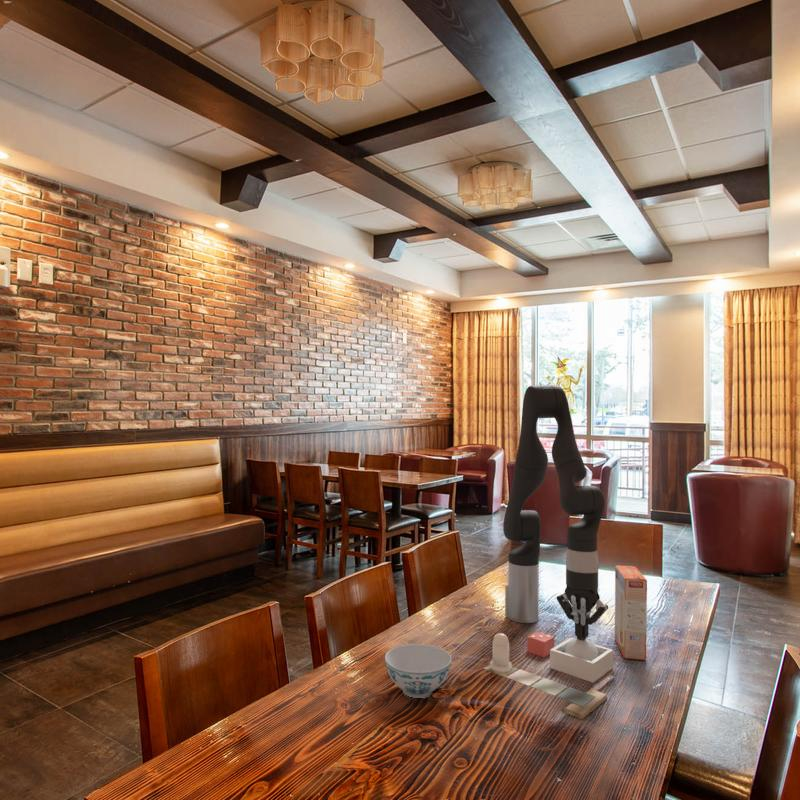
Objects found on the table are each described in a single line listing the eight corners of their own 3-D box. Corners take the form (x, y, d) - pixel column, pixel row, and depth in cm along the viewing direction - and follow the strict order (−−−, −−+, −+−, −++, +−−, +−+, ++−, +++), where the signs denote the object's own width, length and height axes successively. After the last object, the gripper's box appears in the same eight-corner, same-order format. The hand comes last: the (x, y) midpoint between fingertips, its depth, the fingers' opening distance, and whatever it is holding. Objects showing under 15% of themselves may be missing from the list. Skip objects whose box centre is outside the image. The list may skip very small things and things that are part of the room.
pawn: (485, 668, 139) (485, 633, 139) (497, 662, 142) (498, 627, 143) (503, 675, 135) (504, 639, 135) (515, 668, 139) (516, 633, 139)
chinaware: (460, 684, 133) (460, 651, 133) (436, 715, 119) (437, 677, 119) (401, 671, 139) (401, 639, 139) (372, 699, 126) (373, 663, 126)
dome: (558, 671, 140) (558, 638, 140) (573, 661, 145) (574, 629, 146) (589, 682, 134) (590, 648, 134) (604, 671, 140) (604, 638, 140)
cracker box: (647, 661, 147) (648, 579, 147) (623, 659, 148) (623, 577, 148) (636, 640, 160) (636, 565, 161) (614, 638, 162) (614, 564, 162)
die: (527, 656, 149) (527, 636, 149) (537, 650, 153) (537, 631, 153) (544, 661, 146) (544, 641, 146) (554, 656, 149) (554, 636, 149)
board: (471, 675, 137) (471, 670, 137) (499, 660, 146) (499, 655, 146) (582, 719, 118) (581, 713, 118) (606, 699, 127) (606, 693, 127)
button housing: (549, 672, 140) (550, 649, 140) (571, 659, 148) (571, 637, 148) (593, 687, 132) (593, 663, 132) (613, 672, 140) (613, 649, 140)
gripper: (549, 565, 142) (549, 635, 142) (601, 575, 133) (601, 651, 133) (564, 560, 148) (564, 627, 147) (614, 569, 139) (614, 642, 138)
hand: (581, 638), depth 140 cm, fingers closed
